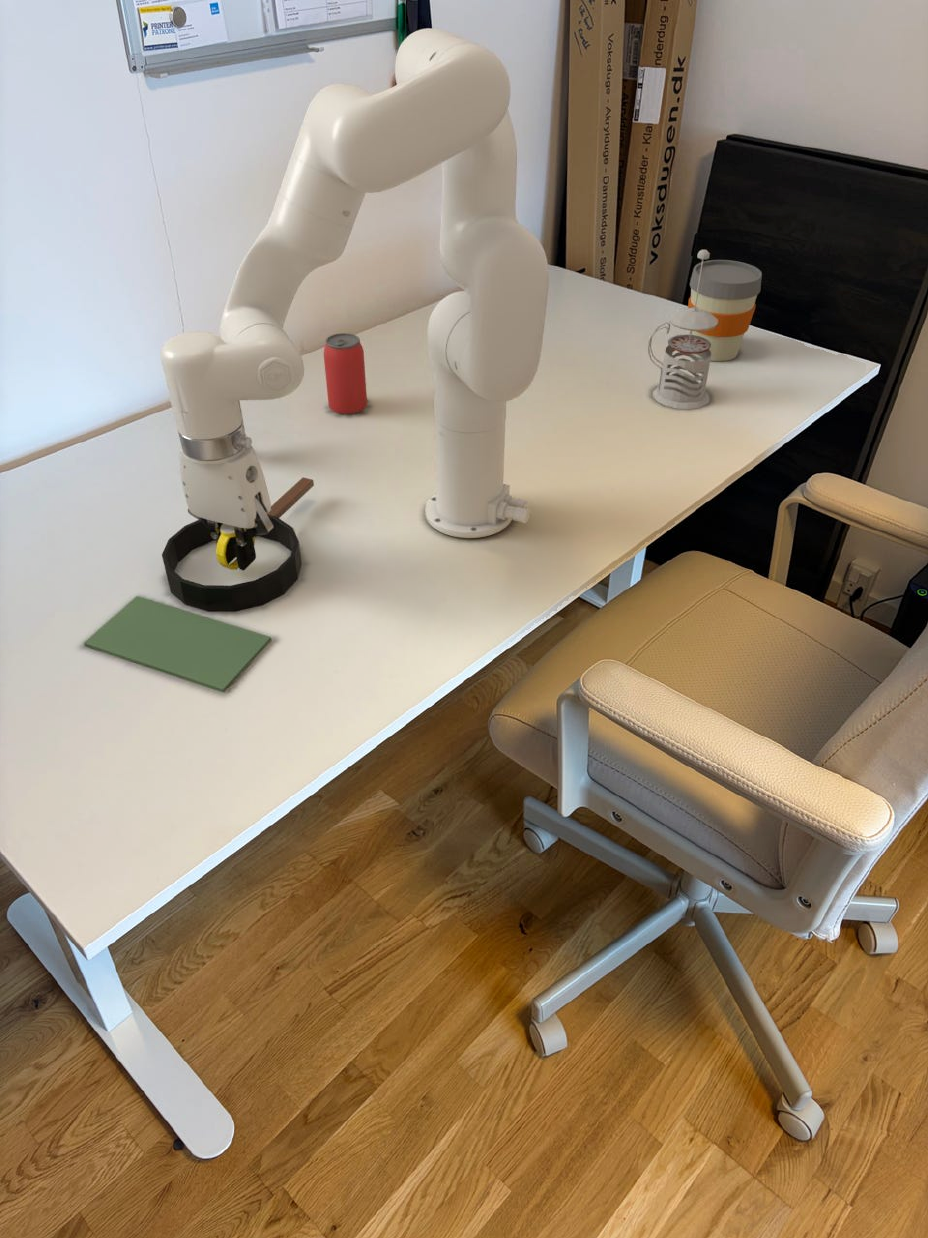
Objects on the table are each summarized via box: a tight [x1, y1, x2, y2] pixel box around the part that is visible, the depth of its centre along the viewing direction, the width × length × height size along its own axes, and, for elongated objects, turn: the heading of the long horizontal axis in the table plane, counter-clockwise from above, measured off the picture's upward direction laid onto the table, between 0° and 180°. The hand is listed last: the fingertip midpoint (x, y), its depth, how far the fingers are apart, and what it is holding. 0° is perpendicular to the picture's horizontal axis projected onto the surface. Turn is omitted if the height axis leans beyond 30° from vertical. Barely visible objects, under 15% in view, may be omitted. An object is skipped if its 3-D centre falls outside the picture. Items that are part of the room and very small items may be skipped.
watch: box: [215, 524, 256, 571], centre depth 124 cm, size 6×3×6 cm, turn 150°
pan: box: [161, 477, 315, 613], centre depth 129 cm, size 28×17×4 cm, turn 156°
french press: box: [647, 249, 718, 410], centre depth 158 cm, size 10×12×25 cm
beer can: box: [323, 332, 368, 416], centre depth 159 cm, size 7×7×12 cm
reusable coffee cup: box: [687, 259, 763, 362], centre depth 176 cm, size 13×13×15 cm
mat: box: [83, 595, 272, 693], centre depth 115 cm, size 20×10×1 cm, turn 66°
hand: (239, 561), depth 126 cm, fingers closed on watch, 2 cm apart
